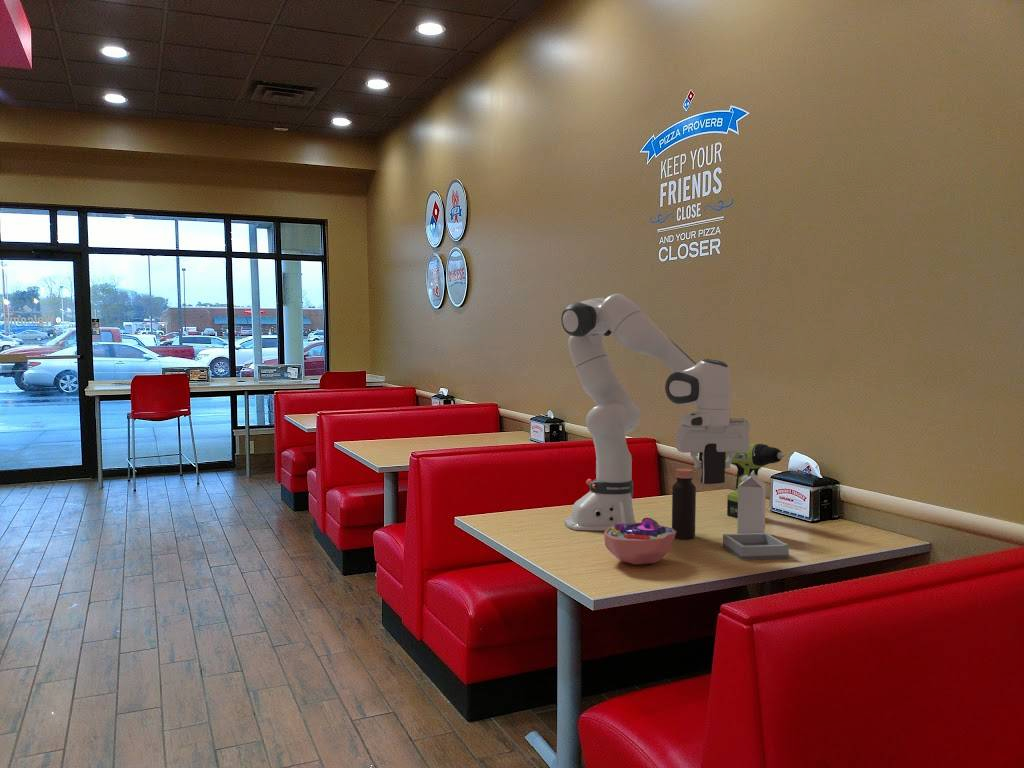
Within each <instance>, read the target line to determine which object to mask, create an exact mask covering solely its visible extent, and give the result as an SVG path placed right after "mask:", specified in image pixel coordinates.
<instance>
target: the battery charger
mask: <svg viewBox="0 0 1024 768" xmlns="http://www.w3.org/2000/svg"><path fill="white" fill-rule="evenodd" d="M716 446H717V445H716V444H706V445H705V447H704V450H703V452H698V461H700V462H702V465H701V466H702V468H701V478H700V484H703V485H716V484H724V483H725V481H726V480H725V479H726V478H725V477H726V475H725V474H726V468H725V462H726V452H718V451H717V450H716Z"/></svg>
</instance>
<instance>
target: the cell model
mask: <svg viewBox="0 0 1024 768" xmlns="http://www.w3.org/2000/svg"><path fill="white" fill-rule="evenodd" d="M675 535H676V530H674V529H672V527H669V526H664V525H661V524H659V523H658V522H657V521H656V520H655V519H653V518H651V517H644V518H643V519H642V520H641V522H636V523H623V524H615V525H614V526H612V527H609V528H608V529H607V530H606V531H603V537H604V538H603V540H604V546H605V548H606V549H607V551H609V553H611V554H612V555H613V556H614V557H615V558H616V559H618V560H619V561H621V562H624V563H628V564H631V565H638V566H639V565H643V564H645V565H648V564H656V563H658V562H660V561H661V560H662V559H663V558H664V557H665V556H666V555H667V554H668V552H669V551H670V550H671V548H672V547H673V544H674V541H675V539H676V538H675Z"/></svg>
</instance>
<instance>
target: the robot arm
mask: <svg viewBox="0 0 1024 768" xmlns="http://www.w3.org/2000/svg"><path fill="white" fill-rule="evenodd" d="M561 326H562V328H563V330H564V332H565V333H566V334H568V335H569V337H568V340H567V343H568V344H567V345H568V350H569V354H570V358H571V361H572V364H573V368H574V369H575V373H576V374H577V376H578V379H579V382H580V385H581V387H582V390H583V391H584V392H585V393H586V395H588V396H589V398H591V400H592V401H593V402H594V404H595V406H594V407H592V408H591V409H590V410H589V411H588V413H587V415H586V417H585V424H586V425H585V426H586V428H587V430H588V432H589V433H590V434H591V438H592V441H593V445H594V449H595V450H594V451H595V458H596V460H595V461H596V462H595V465H596V466H595V467H596V468H595V474H596V477H595V479H593V480H592V478H588V479H587V480H586V482H585V484H586V485H587V486H588V487H589V491H588V492H587V493H586V494H584V495H583V496H581V498H579V499H577V500H576V501H575V502H574V504H573V506H572V510H571V516H567V517H565V518H564V525H565V526H566V527H567V528H568V529H571V530H573V531H597V532H598V531H600V532H601V531H603V532H605V531H606V530H607V529H608V528H609V527H612V526H614V525H615V524H623V523H637V521H636V518H635V513H634V508H633V497H634V496H633V495H634V480H633V479H632V472H633V471H632V467H633V465H632V461H633V458H632V453H631V452H630V451H629V447H628V443H627V439H626V435H627V434H628V433H630V432H633V431H634V430H635V429H636V428H637V427H638V426H639V424H640V423H641V421H642V419H641V418H642V413H641V410H640V407H639V406H638V405H637V404H635V403H634V402H633V401H632V399H631V398H630V396H629V395H628V393H627V392H626V390H625V388H623V386H622V384H621V382H620V381H619V379H618V378H617V375H616V373H615V371H614V368H613V366H612V363H611V362H610V361H611V360H610V358H609V357H608V354H607V352H606V350H605V348H604V344H603V338H604V336H605V337H608V336H610V335H612V334H613V336H614V337H615V339H616V340H618V342H619V343H620V344H621V345H623V346H624V347H625V348H626V349H627V350H629V351H630V352H633V353H636V354H641V355H646V356H649V357H652V358H654V359H657V360H659V361H660V362H663V363H664V364H665V365H666V366H667V367H668V368H669V369H670V370H671V371H672V373H671V374H670V375H669V376H668V377H667V379H666V380H665V385H664V389H665V394H666V397H667V399H669V401H670V402H672V403H674V404H677V405H681V406H682V405H683V406H684V405H693V404H694V405H695V404H696V411H693V412H691V413H687V414H684V415H681V416H680V417H679V423H680V425H679V426H678V428H677V431H676V437H675V449H676V450H677V451H678V452H679V453H682V454H683V453H690V457H691V458H692V460H693V462H694V463H693V464H694V465H693V466H694V469H698V470H700V469H701V470H702V461H699V459H698V457H699V452H703V450H704V447H705V445H706V444H716V445H717V446H716V450H717V451H718V452H727V455H729V456H728V458H727V459H726V462H725V469H731V464H730V462H731V461H732V459H733V458H734V456H735V452H747V451H748V450H749V448H750V444H751V443H750V434H749V432H750V423H749V421H748V420H746V419H745V418H742V417H741V418H740V417H739V418H735V417H731V404H730V395H731V392H732V391H731V389H732V387H731V386H732V384H731V383H732V381H731V372H730V368H729V365H728V364H727V363H726V362H724V361H723V360H722V361H721V360H718V359H711V358H708V359H707V358H704V359H701V360H700V361H699V362H697V363H696V362H695V361H694V360H693V359H692V358H691V357H690V356H689V355H688V354H686V353H685V351H683V350H682V348H681V347H679V346H678V345H677V344H676V343H675V342H674V341H673V340H671V338H669V337H668V336H667V335H666V334H665V333H664V332H663V331H662V330H661V329H660V328H659V327H658V326H657V325H656V324H655V323H654V322H653V321H652V320H651V319H650V318H649V316H648V315H647V314H646V313H645V312H644V311H643V310H642V309H641V308H640V307H639V306H638V305H637V304H635V303H634V302H633V301H632V300H631V299H630V298H628V297H627V296H625V295H623V294H621V293H613V294H611V295H609V296H603V297H598V298H597V297H596V298H595V297H594V298H589V299H586V300H582V301H580V302H579V301H578V302H577V301H576V302H573V303H571V304H569V305H567V306H565V308H564V309H563V310H562V312H561Z"/></svg>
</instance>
